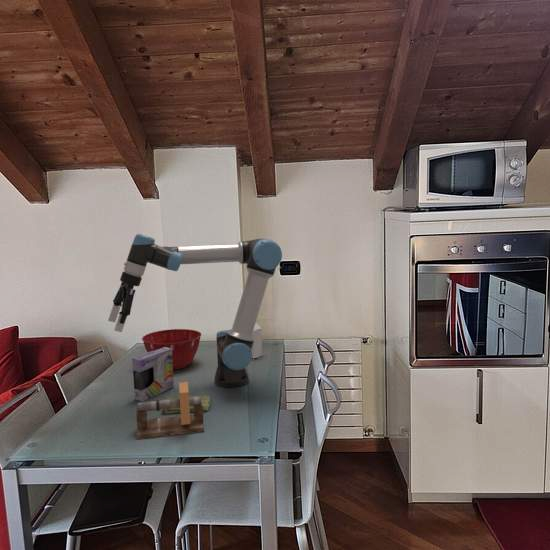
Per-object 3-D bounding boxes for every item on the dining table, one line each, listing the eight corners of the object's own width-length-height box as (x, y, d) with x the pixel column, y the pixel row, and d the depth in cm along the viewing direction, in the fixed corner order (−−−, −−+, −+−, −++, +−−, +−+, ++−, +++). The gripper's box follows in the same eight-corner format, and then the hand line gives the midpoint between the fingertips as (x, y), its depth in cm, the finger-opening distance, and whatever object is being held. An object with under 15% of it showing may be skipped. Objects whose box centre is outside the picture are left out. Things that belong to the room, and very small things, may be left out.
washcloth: (209, 413, 180) (209, 405, 180) (161, 416, 179) (161, 408, 178) (210, 400, 193) (210, 392, 193) (165, 403, 192) (165, 395, 191)
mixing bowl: (208, 369, 232) (207, 338, 230) (147, 378, 221) (145, 345, 220) (195, 355, 258) (194, 326, 256) (140, 362, 247) (138, 332, 246)
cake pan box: (140, 403, 192) (137, 359, 190) (131, 400, 194) (128, 357, 192) (175, 388, 208) (172, 347, 206) (166, 386, 210) (164, 346, 208)
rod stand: (202, 417, 175) (200, 390, 174) (204, 431, 164) (202, 402, 162) (139, 424, 171) (137, 396, 170) (136, 439, 159) (134, 409, 158)
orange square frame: (189, 411, 174) (187, 381, 172) (190, 423, 163) (188, 392, 162) (180, 412, 173) (179, 382, 172) (181, 424, 162) (179, 393, 161)
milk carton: (262, 356, 252) (261, 320, 249) (254, 360, 246) (253, 323, 243) (251, 354, 255) (249, 319, 253) (243, 358, 249) (241, 321, 247)
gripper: (117, 265, 194) (99, 315, 195) (130, 277, 173) (110, 333, 173) (135, 271, 198) (118, 320, 199) (149, 282, 177) (130, 337, 177)
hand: (114, 326), depth 186 cm, fingers open, 13 cm apart
